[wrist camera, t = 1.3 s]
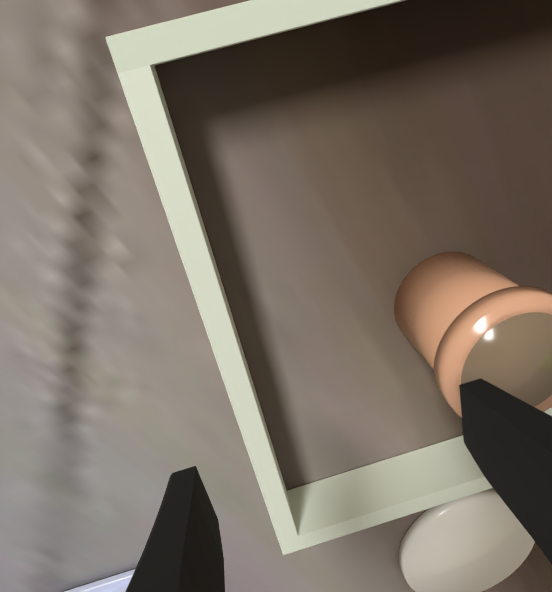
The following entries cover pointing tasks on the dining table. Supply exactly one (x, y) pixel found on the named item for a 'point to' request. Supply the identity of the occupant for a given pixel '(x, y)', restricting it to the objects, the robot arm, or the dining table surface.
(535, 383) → the terracotta pot
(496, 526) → the saucer
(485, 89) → the dining table surface
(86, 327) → the dining table surface
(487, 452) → the robot arm
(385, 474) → the rectangular frame
